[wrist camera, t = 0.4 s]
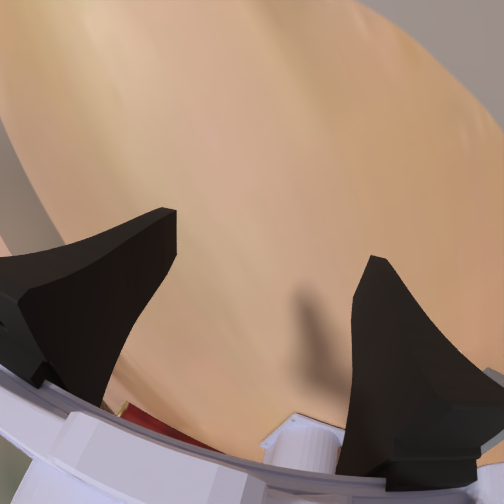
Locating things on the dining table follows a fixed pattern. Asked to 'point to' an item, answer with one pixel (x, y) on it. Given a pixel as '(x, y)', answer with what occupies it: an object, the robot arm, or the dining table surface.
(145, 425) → the hardcover book
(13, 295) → the robot arm
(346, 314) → the dining table surface
